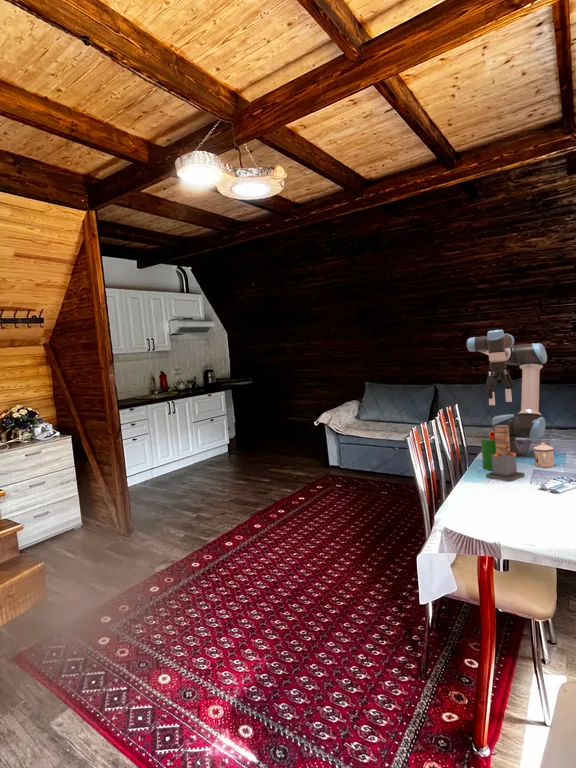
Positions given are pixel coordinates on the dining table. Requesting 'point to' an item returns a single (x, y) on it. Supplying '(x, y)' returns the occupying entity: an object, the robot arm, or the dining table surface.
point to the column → (502, 439)
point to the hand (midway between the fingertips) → (500, 403)
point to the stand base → (504, 467)
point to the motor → (488, 451)
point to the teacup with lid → (544, 455)
